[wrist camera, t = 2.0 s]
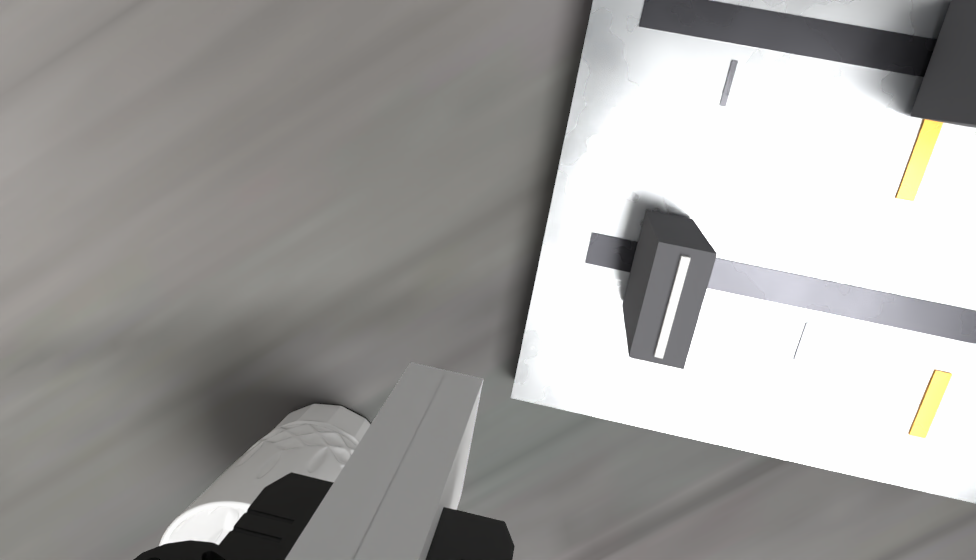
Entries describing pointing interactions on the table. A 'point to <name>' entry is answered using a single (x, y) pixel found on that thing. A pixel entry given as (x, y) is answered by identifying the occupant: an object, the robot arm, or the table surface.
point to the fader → (951, 70)
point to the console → (771, 236)
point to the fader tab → (666, 288)
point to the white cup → (272, 469)
